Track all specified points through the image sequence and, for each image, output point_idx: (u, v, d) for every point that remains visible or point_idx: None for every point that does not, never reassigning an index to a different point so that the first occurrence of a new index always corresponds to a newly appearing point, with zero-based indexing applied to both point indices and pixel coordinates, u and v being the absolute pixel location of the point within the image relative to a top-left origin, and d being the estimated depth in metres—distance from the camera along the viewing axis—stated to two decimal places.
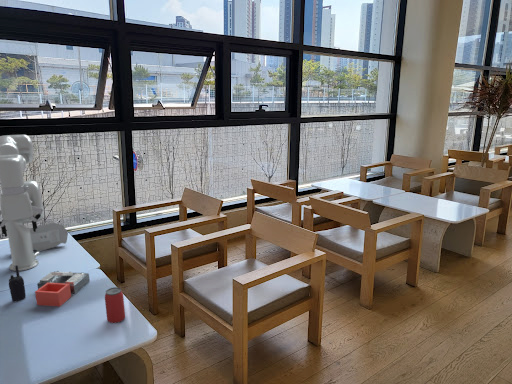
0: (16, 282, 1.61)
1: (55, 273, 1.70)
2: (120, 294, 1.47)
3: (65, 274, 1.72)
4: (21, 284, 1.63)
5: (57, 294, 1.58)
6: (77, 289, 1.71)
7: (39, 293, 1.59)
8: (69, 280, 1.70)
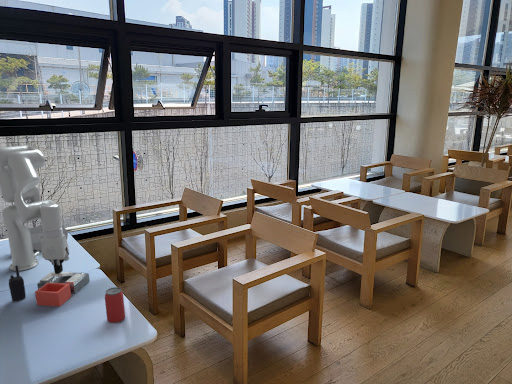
0: (16, 282, 1.61)
1: (55, 274, 1.70)
2: (120, 294, 1.47)
3: (65, 275, 1.72)
4: (21, 284, 1.63)
5: (57, 294, 1.58)
6: (77, 289, 1.71)
7: (39, 293, 1.59)
8: (69, 280, 1.70)
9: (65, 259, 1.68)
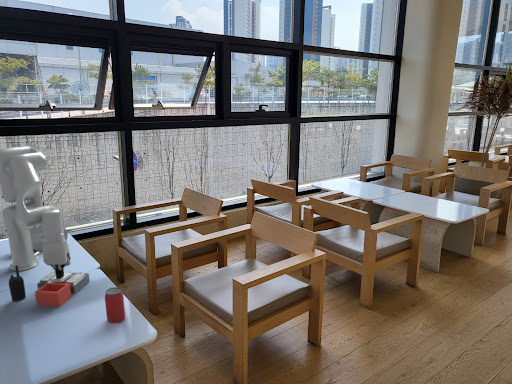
0: (16, 282, 1.61)
1: (54, 280, 1.70)
2: (120, 294, 1.47)
3: (65, 279, 1.72)
4: (21, 284, 1.63)
5: (57, 294, 1.58)
6: (77, 289, 1.71)
7: (39, 293, 1.59)
8: (69, 280, 1.70)
9: (66, 264, 1.69)
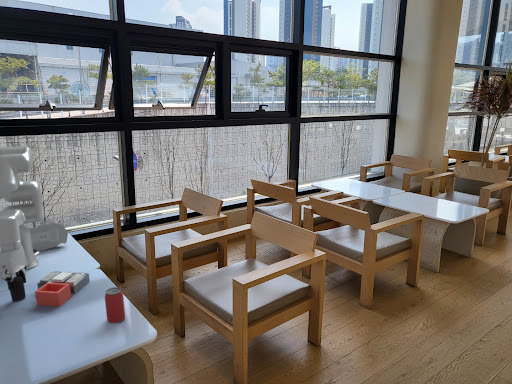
0: (16, 282, 1.61)
1: (54, 280, 1.70)
2: (120, 294, 1.47)
3: (65, 279, 1.72)
4: (21, 284, 1.63)
5: (57, 294, 1.58)
6: (77, 289, 1.71)
7: (39, 293, 1.59)
8: (69, 280, 1.70)
9: None
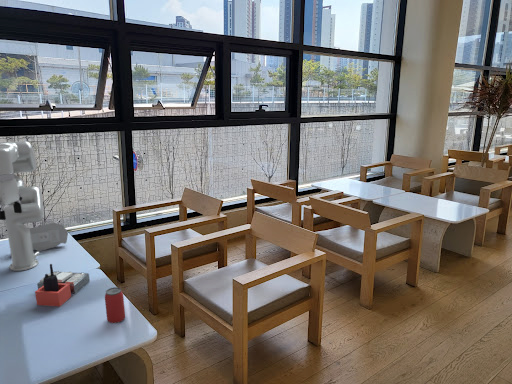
0: (51, 281, 1.60)
1: None
2: (120, 294, 1.47)
3: (65, 279, 1.72)
4: (55, 283, 1.62)
5: (57, 294, 1.58)
6: (77, 289, 1.71)
7: (39, 293, 1.59)
8: (69, 280, 1.70)
9: None
